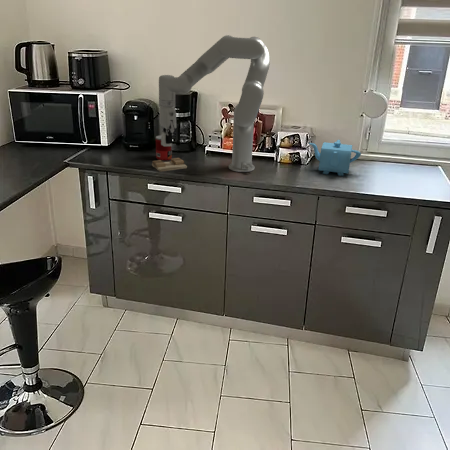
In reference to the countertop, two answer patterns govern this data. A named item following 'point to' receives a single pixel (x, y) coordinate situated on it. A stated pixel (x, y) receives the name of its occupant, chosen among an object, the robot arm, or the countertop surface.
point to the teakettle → (335, 157)
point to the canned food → (162, 150)
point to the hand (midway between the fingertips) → (167, 141)
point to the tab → (164, 139)
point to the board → (169, 165)
